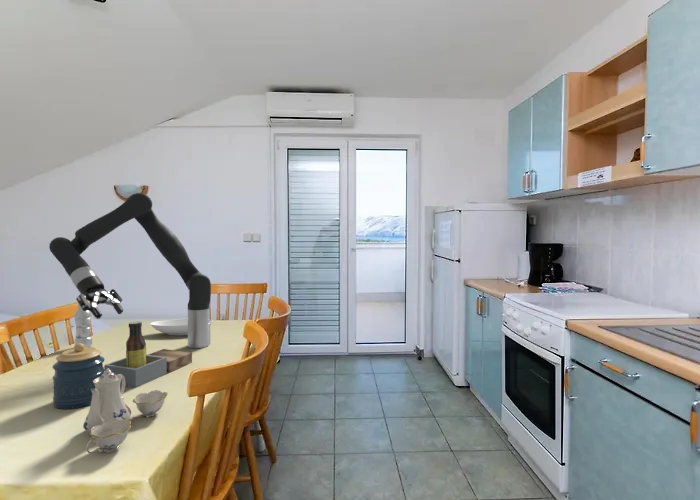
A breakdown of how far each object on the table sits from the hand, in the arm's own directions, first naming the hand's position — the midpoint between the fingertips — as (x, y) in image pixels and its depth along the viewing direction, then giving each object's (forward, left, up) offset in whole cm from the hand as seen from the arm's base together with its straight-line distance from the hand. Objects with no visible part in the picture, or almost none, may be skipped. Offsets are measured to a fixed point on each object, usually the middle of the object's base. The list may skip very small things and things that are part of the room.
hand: (111, 314), depth 138 cm
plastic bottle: (-20, -39, -22) cm, 49 cm away
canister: (+20, +11, -22) cm, 32 cm away
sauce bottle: (0, +12, -22) cm, 25 cm away
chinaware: (+29, +37, -22) cm, 52 cm away
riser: (-14, +12, -22) cm, 28 cm away
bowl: (-55, -16, -22) cm, 61 cm away
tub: (0, +12, -22) cm, 25 cm away
